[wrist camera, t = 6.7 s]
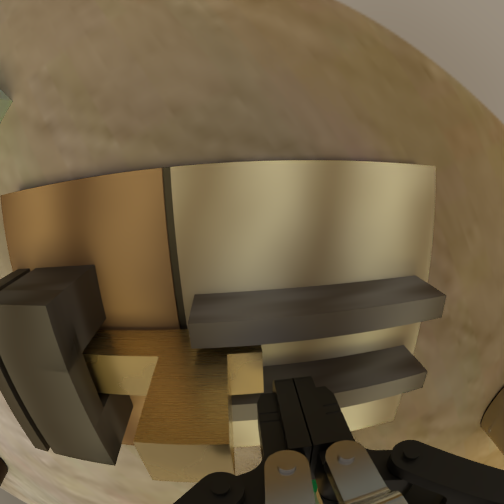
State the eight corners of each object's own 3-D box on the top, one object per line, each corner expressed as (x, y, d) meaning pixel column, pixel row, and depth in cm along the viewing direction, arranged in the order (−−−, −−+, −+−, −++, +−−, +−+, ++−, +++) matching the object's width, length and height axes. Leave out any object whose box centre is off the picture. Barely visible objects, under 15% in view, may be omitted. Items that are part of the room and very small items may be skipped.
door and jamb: (416, 165, 16) (501, 172, 9) (383, 404, 21) (420, 465, 14) (19, 191, 14) (-61, 210, 8) (86, 421, 19) (59, 484, 12)
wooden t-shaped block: (257, 325, 15) (280, 439, 8) (258, 363, 16) (278, 477, 8) (47, 328, 14) (-22, 406, 7) (59, 362, 15) (4, 445, 8)
